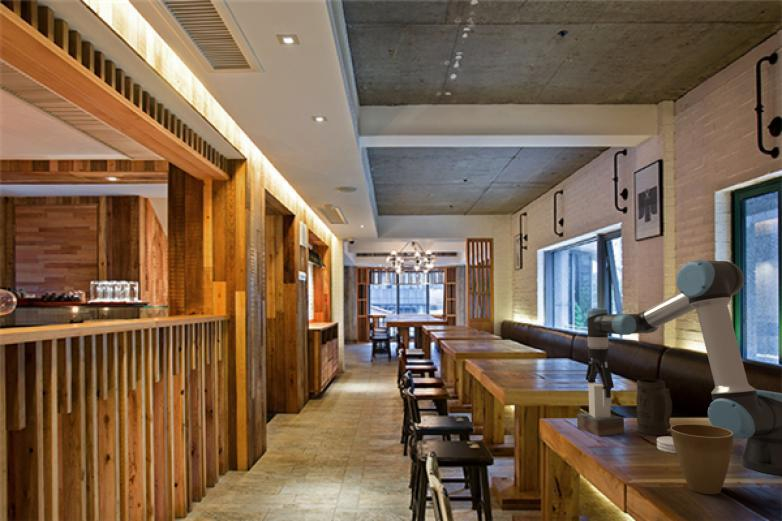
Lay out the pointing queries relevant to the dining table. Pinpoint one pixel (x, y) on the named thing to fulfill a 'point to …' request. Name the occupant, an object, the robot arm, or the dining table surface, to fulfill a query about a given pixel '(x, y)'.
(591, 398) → the cream block
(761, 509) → the dining table surface
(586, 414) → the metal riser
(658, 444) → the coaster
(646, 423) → the beer stein
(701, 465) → the plant pot
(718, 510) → the dining table surface
